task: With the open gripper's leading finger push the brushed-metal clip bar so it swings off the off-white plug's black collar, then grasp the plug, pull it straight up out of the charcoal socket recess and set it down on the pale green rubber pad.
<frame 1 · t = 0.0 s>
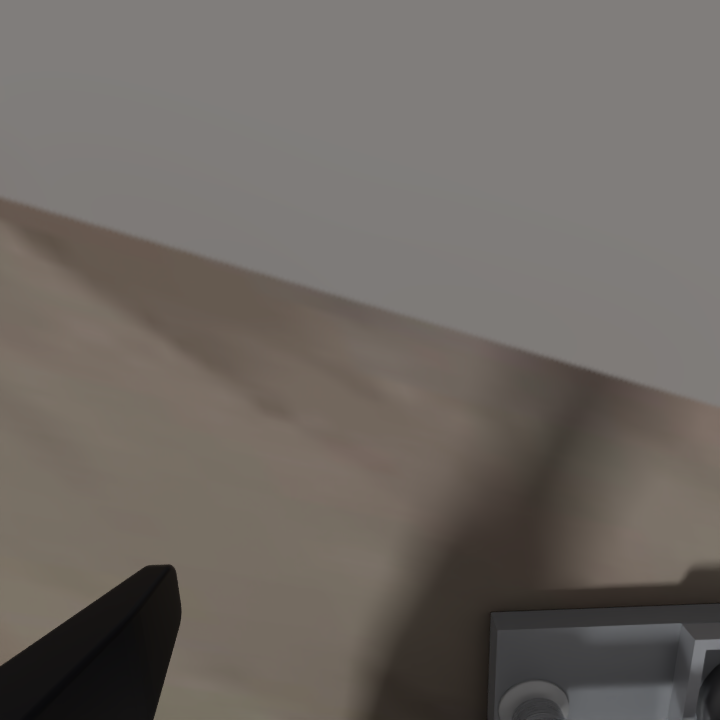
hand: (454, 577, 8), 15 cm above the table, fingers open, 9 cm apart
socket base: (717, 679, 27), on the table
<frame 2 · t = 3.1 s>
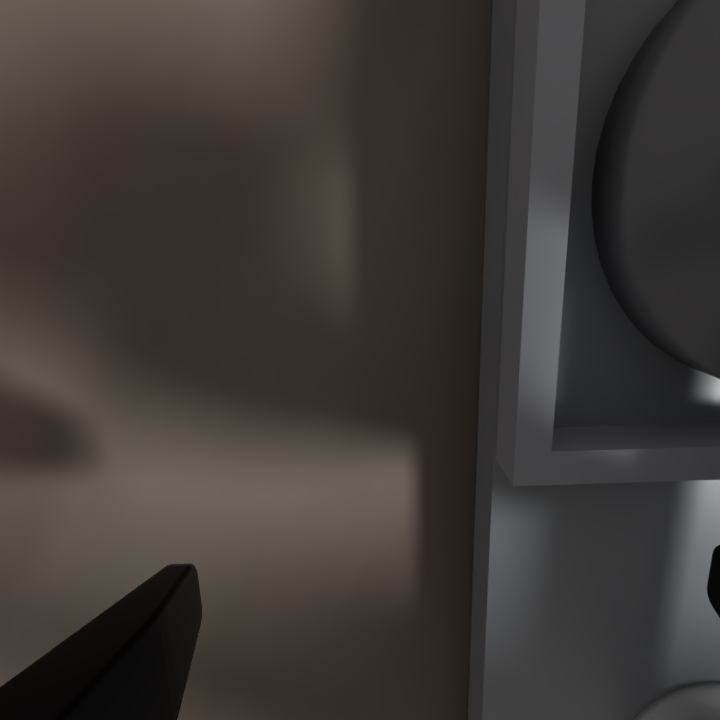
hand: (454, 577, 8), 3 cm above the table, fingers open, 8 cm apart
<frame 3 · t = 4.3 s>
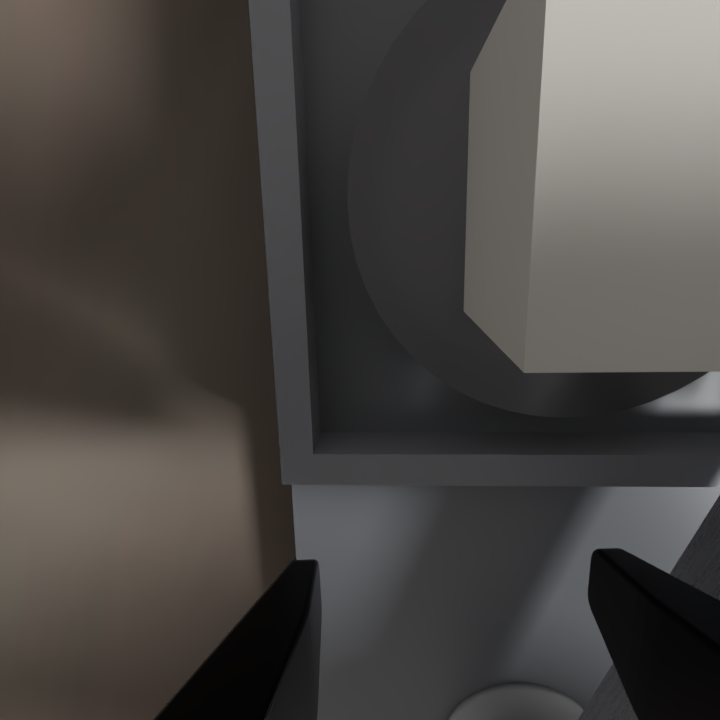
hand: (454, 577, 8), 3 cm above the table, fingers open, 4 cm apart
socket base: (531, 282, 10), on the table
clip: (657, 691, 8), point 3 cm above the table, hinge at -21.6°, touching gripper
plug: (556, 200, 8), point 1 cm above the table, touching socket base
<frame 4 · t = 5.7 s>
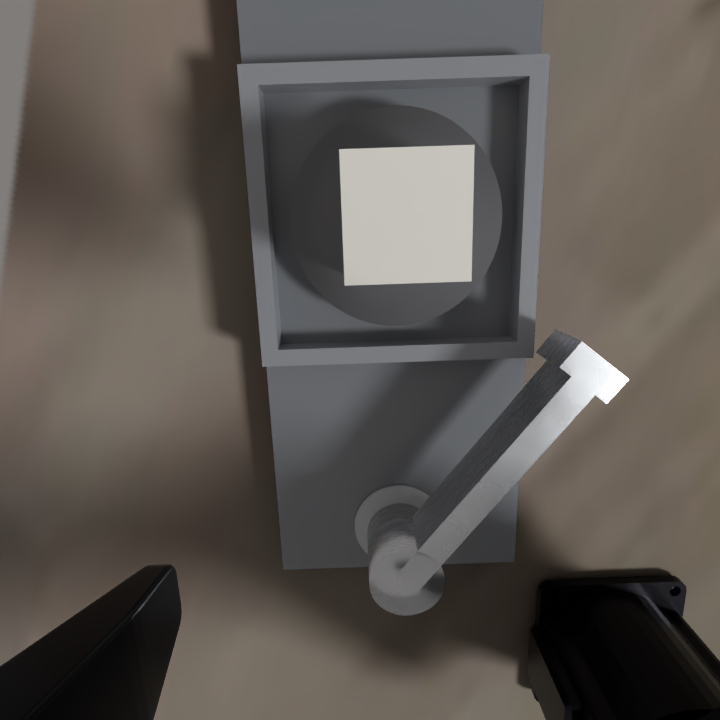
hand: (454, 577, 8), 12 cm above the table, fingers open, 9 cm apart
socket base: (391, 263, 19), on the table
clip: (476, 471, 17), point 3 cm above the table, hinge at -38.6°
plug: (393, 222, 17), point 1 cm above the table, touching socket base
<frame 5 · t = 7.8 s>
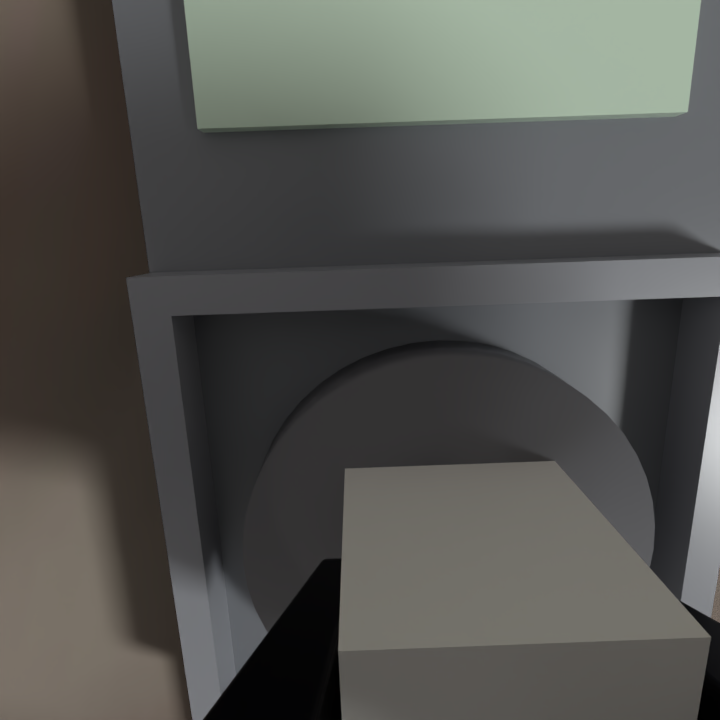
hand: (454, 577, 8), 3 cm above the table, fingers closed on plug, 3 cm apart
socket base: (428, 546, 11), on the table
plug: (437, 516, 10), point 1 cm above the table, touching gripper, socket base
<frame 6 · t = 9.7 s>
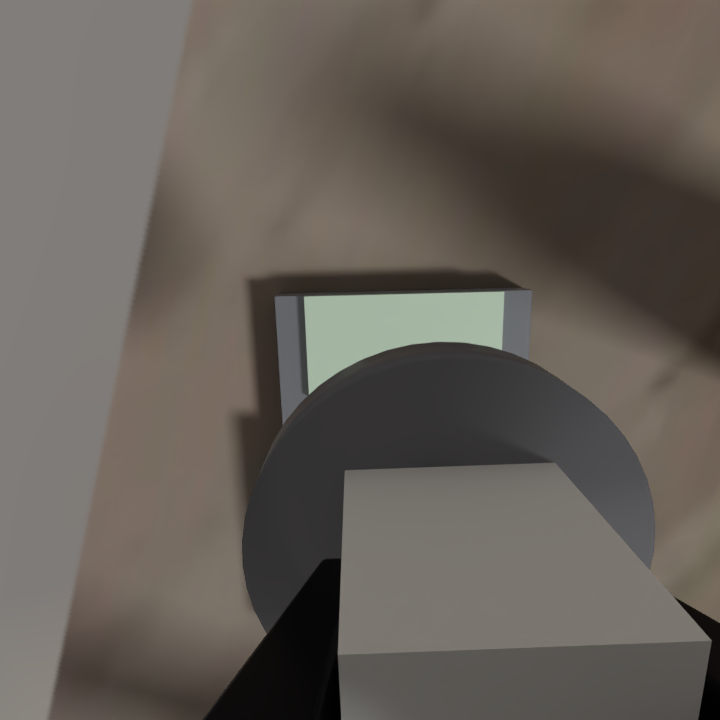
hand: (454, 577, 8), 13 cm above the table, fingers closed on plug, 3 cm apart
socket base: (402, 563, 23), on the table
plug: (437, 518, 10), point 11 cm above the table, touching gripper
when the fingers open (4 cm above the table, at t = 11.7 s): plug stays where it is, resting on socket base.
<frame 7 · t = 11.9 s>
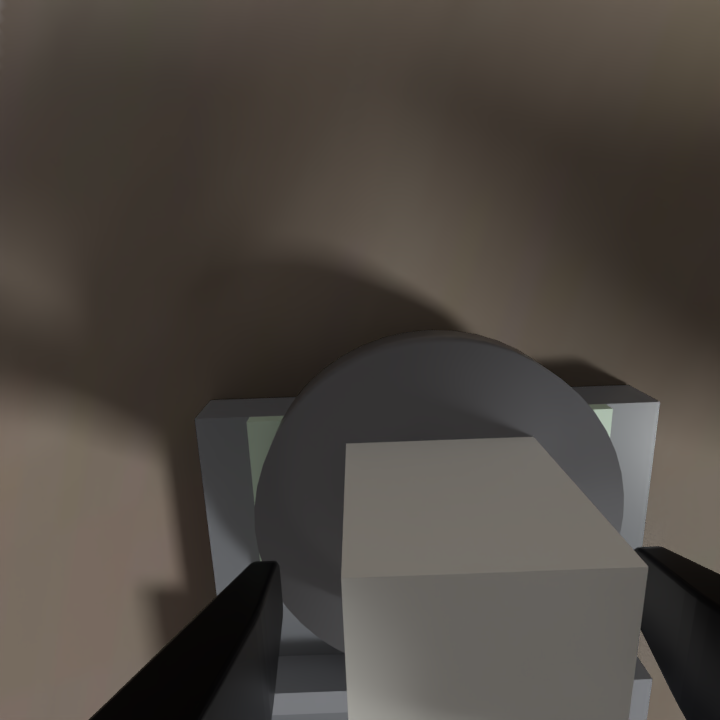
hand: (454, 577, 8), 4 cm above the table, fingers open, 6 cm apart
plug: (429, 491, 11), point 1 cm above the table, touching socket base
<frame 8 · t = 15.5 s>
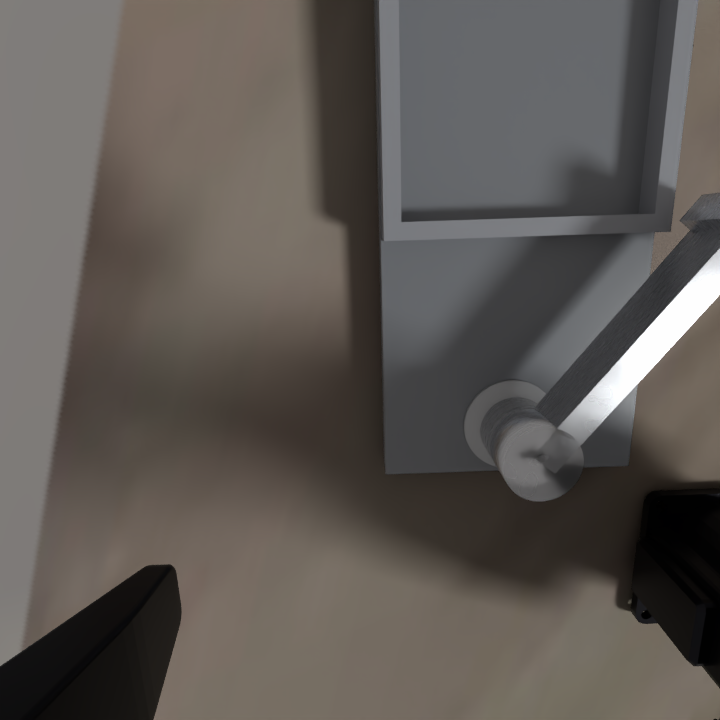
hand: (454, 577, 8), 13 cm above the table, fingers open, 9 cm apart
socket base: (511, 141, 18), on the table
clip: (611, 351, 17), point 3 cm above the table, hinge at -38.7°
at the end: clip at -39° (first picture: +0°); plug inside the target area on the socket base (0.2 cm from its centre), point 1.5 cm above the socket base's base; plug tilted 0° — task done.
